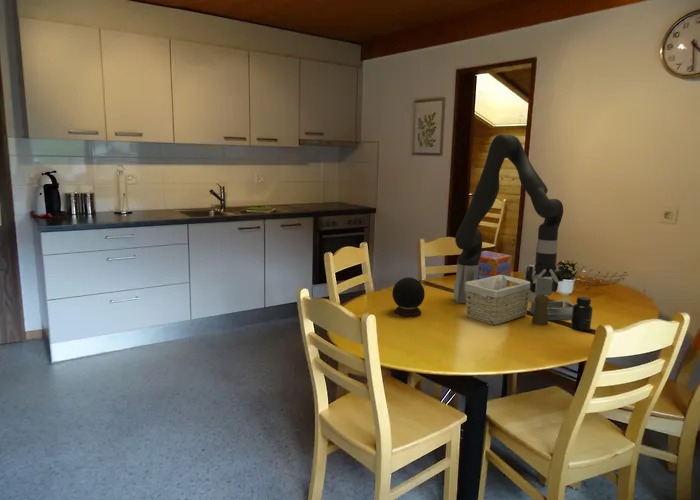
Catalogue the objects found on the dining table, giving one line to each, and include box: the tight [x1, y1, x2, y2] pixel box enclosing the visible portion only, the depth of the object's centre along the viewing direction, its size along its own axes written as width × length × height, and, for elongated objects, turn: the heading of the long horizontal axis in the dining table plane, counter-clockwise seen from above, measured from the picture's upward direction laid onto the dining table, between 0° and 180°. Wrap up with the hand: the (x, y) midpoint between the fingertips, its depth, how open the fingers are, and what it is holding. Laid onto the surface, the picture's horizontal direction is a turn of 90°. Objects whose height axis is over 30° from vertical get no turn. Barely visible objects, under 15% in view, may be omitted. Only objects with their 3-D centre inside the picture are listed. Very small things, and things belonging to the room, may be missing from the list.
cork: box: [531, 295, 550, 326], centre depth 196 cm, size 6×6×11 cm
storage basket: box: [465, 275, 531, 326], centre depth 203 cm, size 24×16×15 cm
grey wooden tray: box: [528, 300, 575, 321], centre depth 206 cm, size 16×12×4 cm
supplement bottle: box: [570, 296, 594, 332], centre depth 190 cm, size 7×7×12 cm
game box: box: [478, 250, 513, 287], centre depth 253 cm, size 16×16×16 cm
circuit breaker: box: [522, 264, 555, 302], centre depth 227 cm, size 8×14×15 cm, turn 53°
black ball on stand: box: [391, 277, 426, 318], centre depth 205 cm, size 13×13×15 cm
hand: (543, 291), depth 195 cm, fingers open, 8 cm apart
